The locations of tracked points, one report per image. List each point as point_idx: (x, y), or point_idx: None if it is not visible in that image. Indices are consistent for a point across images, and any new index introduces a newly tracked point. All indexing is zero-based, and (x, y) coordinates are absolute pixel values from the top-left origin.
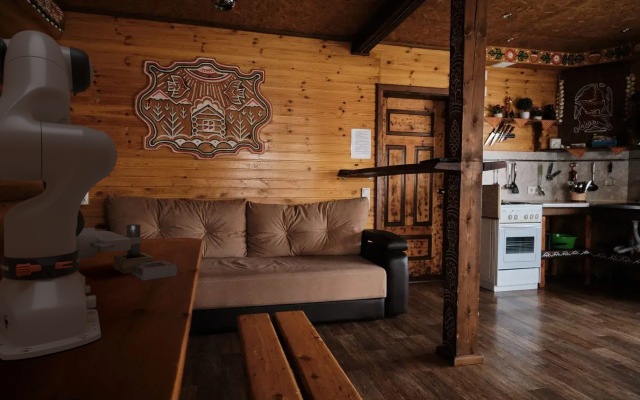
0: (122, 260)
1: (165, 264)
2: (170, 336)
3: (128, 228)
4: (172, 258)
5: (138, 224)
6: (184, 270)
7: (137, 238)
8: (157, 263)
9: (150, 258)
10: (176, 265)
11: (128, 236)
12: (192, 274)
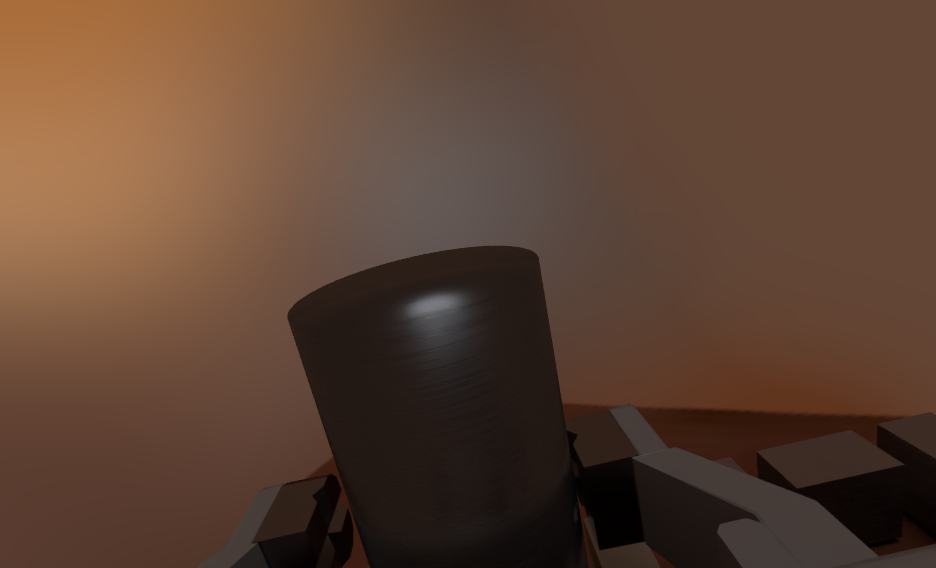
0: None
1: (888, 468)
2: None
3: (490, 359)
4: (332, 470)
5: (392, 263)
6: (708, 441)
7: (651, 431)
8: None
9: (641, 543)
10: (926, 413)
11: (520, 517)
12: (842, 416)
